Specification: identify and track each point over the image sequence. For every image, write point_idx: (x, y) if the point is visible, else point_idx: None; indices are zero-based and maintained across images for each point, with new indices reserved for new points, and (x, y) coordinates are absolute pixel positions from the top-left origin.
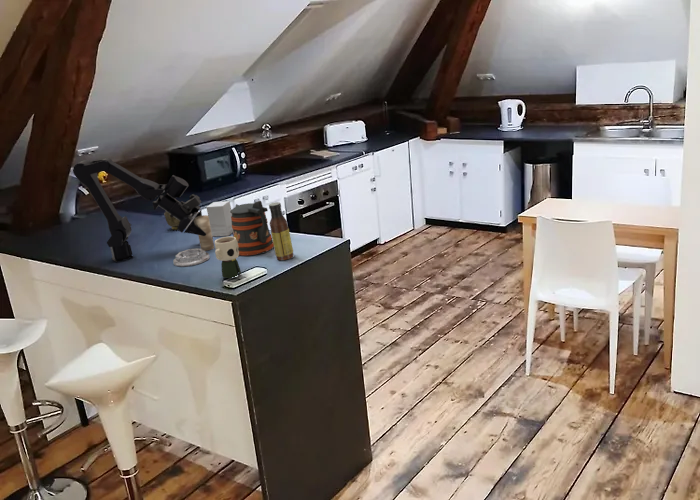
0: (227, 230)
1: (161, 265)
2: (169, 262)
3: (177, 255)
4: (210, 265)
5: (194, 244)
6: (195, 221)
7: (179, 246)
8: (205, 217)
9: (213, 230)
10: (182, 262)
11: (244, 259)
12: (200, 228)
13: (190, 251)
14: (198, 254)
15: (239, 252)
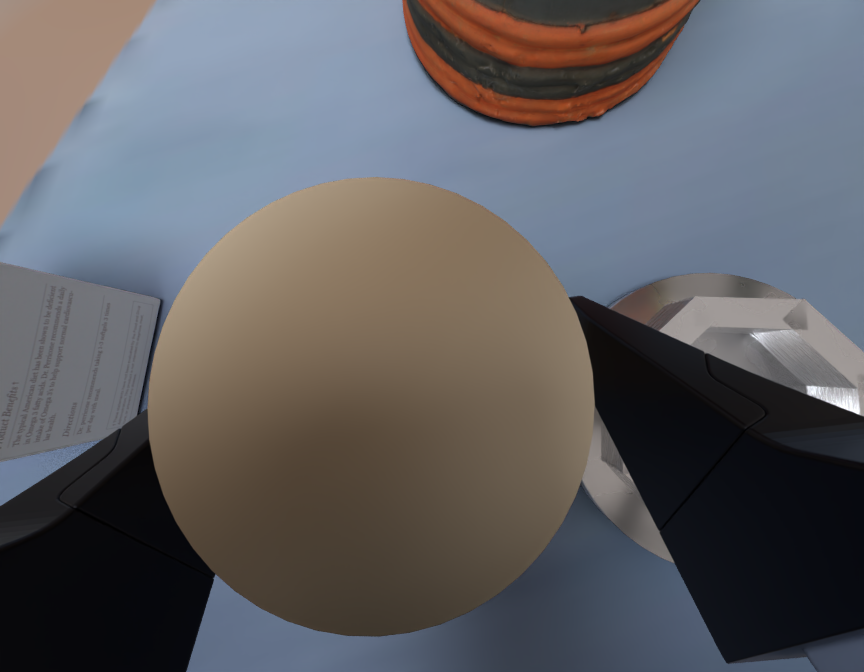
0: (114, 288)
1: (790, 660)
2: None
3: None
4: (832, 219)
5: None
6: (160, 622)
7: (310, 660)
8: (431, 237)
9: (83, 419)
10: None
11: (730, 13)
12: (653, 348)
13: None
14: (807, 324)
15: (678, 34)
